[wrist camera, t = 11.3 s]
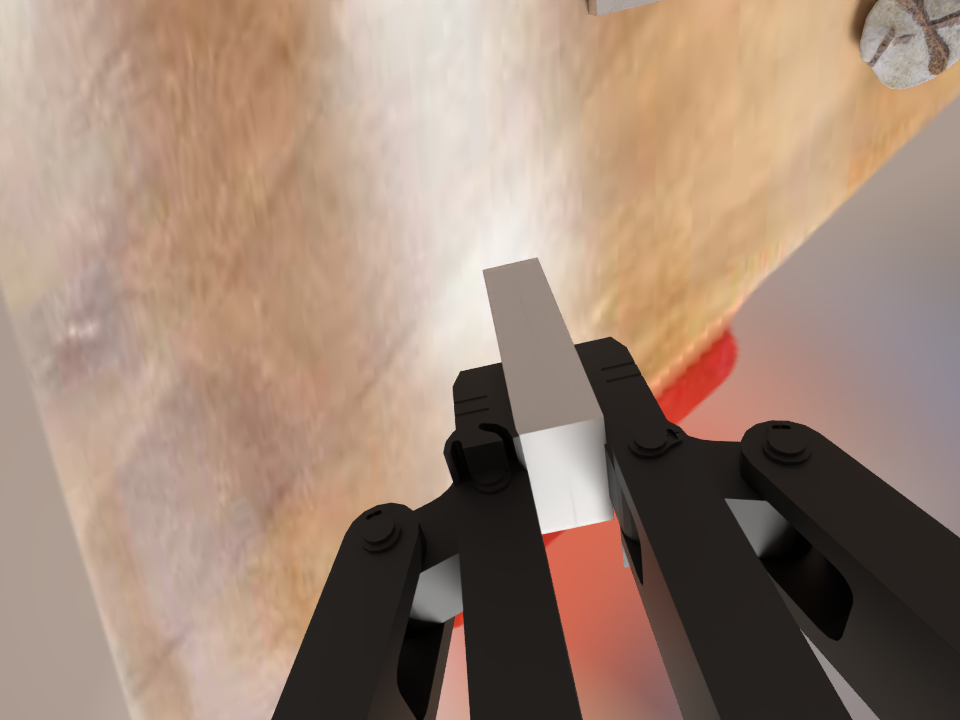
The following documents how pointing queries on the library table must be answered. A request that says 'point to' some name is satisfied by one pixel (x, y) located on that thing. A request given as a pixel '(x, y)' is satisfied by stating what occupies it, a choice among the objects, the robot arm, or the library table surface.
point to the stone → (911, 40)
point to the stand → (613, 5)
